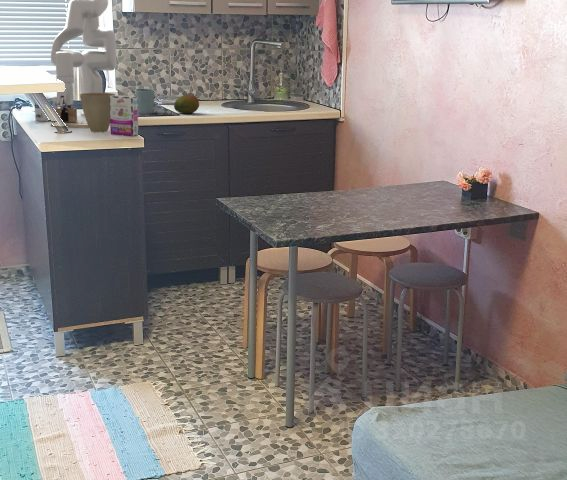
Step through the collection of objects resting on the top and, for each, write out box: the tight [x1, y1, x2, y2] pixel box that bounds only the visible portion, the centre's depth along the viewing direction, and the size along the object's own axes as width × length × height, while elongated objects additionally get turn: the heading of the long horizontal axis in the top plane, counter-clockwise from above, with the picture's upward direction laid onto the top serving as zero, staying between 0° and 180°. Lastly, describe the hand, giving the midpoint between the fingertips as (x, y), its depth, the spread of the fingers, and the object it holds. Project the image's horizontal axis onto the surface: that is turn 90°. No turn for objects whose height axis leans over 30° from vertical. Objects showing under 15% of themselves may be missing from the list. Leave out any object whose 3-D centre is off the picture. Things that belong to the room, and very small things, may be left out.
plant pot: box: [79, 92, 116, 133], centre depth 348 cm, size 15×15×16 cm
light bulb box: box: [34, 95, 59, 122], centre depth 378 cm, size 11×7×11 cm, turn 168°
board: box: [50, 120, 89, 129], centre depth 364 cm, size 13×18×1 cm
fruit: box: [173, 93, 200, 115], centre depth 421 cm, size 12×12×10 cm
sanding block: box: [56, 106, 78, 123], centre depth 364 cm, size 5×8×6 cm, turn 87°
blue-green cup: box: [134, 88, 156, 115], centre depth 417 cm, size 10×10×12 cm
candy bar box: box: [109, 94, 139, 137], centre depth 340 cm, size 11×5×16 cm, turn 69°
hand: (66, 120), depth 365 cm, fingers closed on sanding block, 5 cm apart
